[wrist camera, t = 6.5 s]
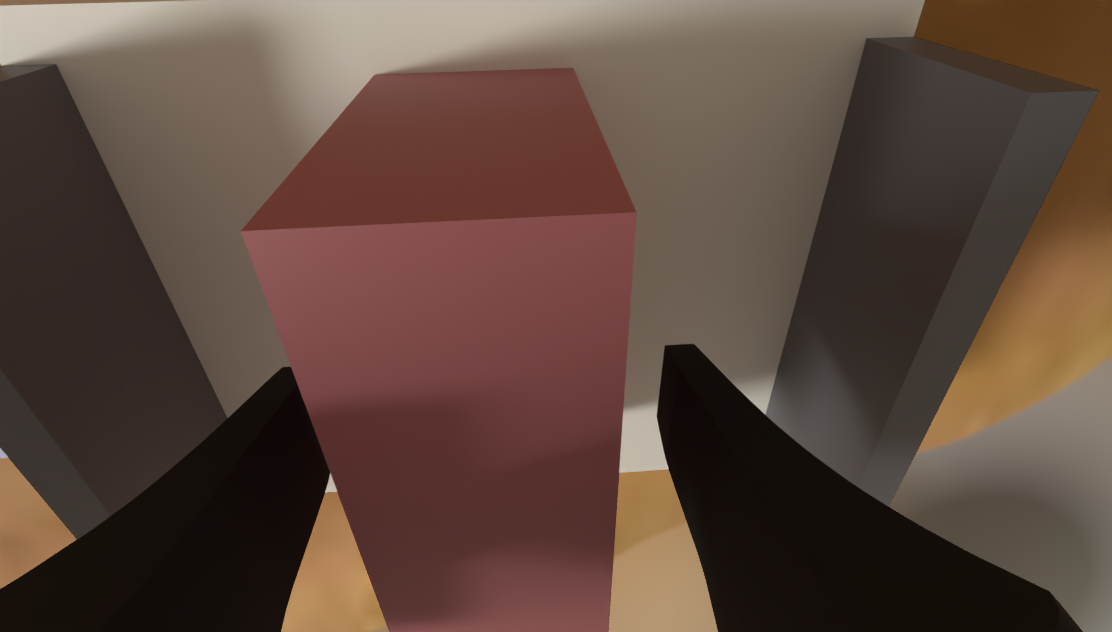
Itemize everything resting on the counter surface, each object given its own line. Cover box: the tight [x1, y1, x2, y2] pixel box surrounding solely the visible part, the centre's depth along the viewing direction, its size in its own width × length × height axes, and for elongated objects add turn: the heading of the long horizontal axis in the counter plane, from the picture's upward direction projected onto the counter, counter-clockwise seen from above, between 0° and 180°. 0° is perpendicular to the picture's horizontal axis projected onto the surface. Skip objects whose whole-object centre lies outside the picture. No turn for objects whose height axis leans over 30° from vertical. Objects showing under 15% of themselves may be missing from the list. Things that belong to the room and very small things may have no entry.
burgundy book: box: [241, 68, 637, 632], centre depth 12 cm, size 4×10×7 cm, turn 1°
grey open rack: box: [0, 0, 1099, 539], centre depth 14 cm, size 18×14×6 cm
